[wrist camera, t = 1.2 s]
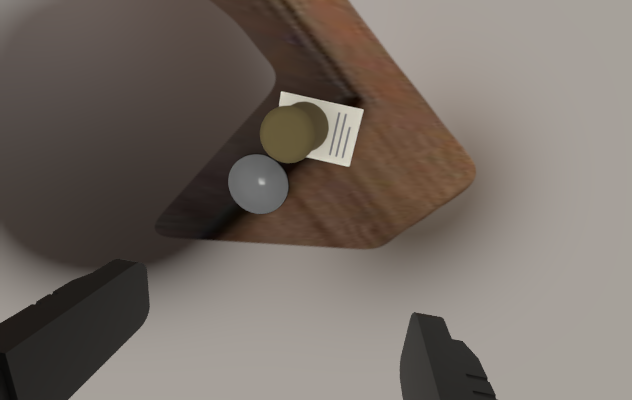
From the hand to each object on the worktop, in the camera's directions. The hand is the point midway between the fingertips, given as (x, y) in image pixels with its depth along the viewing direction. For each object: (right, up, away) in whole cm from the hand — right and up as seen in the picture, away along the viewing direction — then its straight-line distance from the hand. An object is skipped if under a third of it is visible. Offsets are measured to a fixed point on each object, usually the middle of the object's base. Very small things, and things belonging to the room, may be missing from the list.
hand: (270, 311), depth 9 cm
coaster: (-6, +5, +31) cm, 32 cm away
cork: (0, +12, +28) cm, 30 cm away
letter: (+1, +12, +28) cm, 30 cm away
